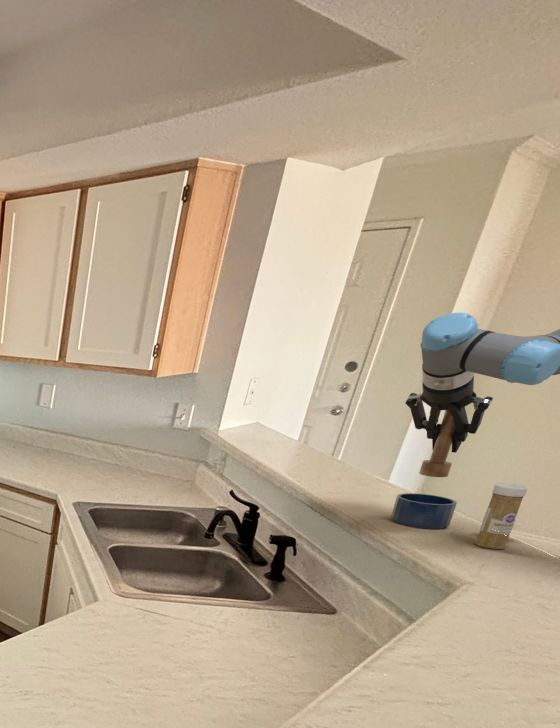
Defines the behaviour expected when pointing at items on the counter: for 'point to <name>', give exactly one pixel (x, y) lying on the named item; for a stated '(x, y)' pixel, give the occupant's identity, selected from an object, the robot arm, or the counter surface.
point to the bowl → (423, 510)
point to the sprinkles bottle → (500, 515)
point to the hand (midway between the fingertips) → (446, 446)
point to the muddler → (440, 450)
